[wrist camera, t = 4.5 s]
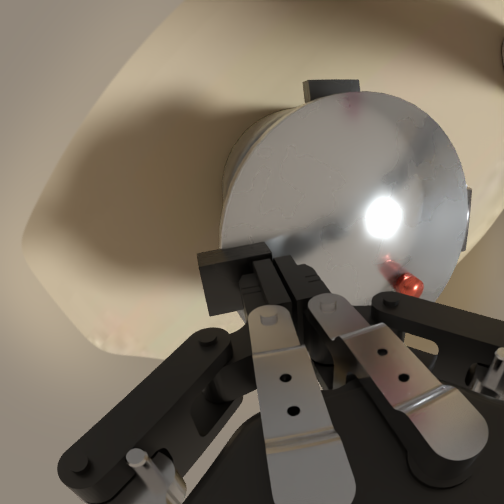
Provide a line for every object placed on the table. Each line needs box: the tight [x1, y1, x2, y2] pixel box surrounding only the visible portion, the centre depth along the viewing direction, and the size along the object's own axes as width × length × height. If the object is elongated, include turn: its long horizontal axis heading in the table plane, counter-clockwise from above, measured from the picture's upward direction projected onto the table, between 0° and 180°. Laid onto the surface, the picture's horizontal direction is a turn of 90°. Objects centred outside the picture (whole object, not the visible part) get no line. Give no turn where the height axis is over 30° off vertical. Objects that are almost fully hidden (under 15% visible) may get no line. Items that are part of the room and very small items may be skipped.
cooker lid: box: [197, 91, 472, 355], centre depth 16 cm, size 17×15×2 cm
